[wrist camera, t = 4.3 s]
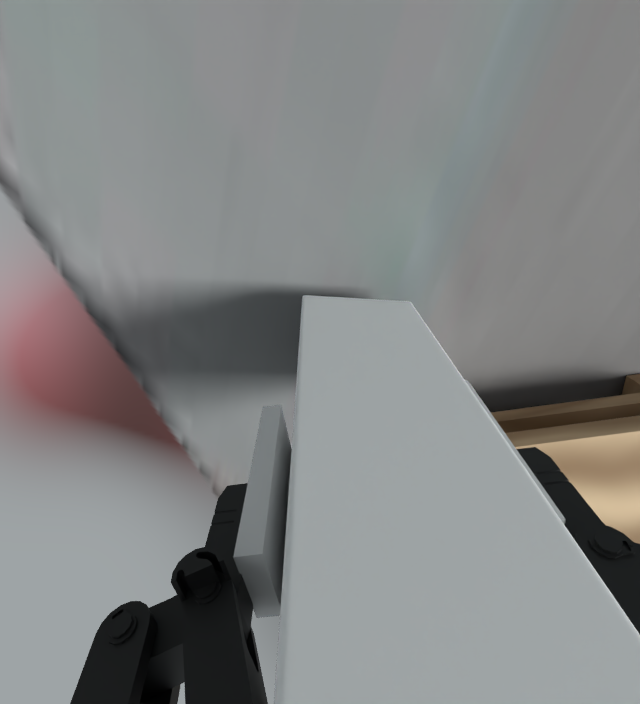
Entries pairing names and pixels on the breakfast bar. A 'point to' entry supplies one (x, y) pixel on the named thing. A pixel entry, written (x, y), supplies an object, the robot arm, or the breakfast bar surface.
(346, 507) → the milk
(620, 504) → the light brown square platform
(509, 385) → the breakfast bar surface
